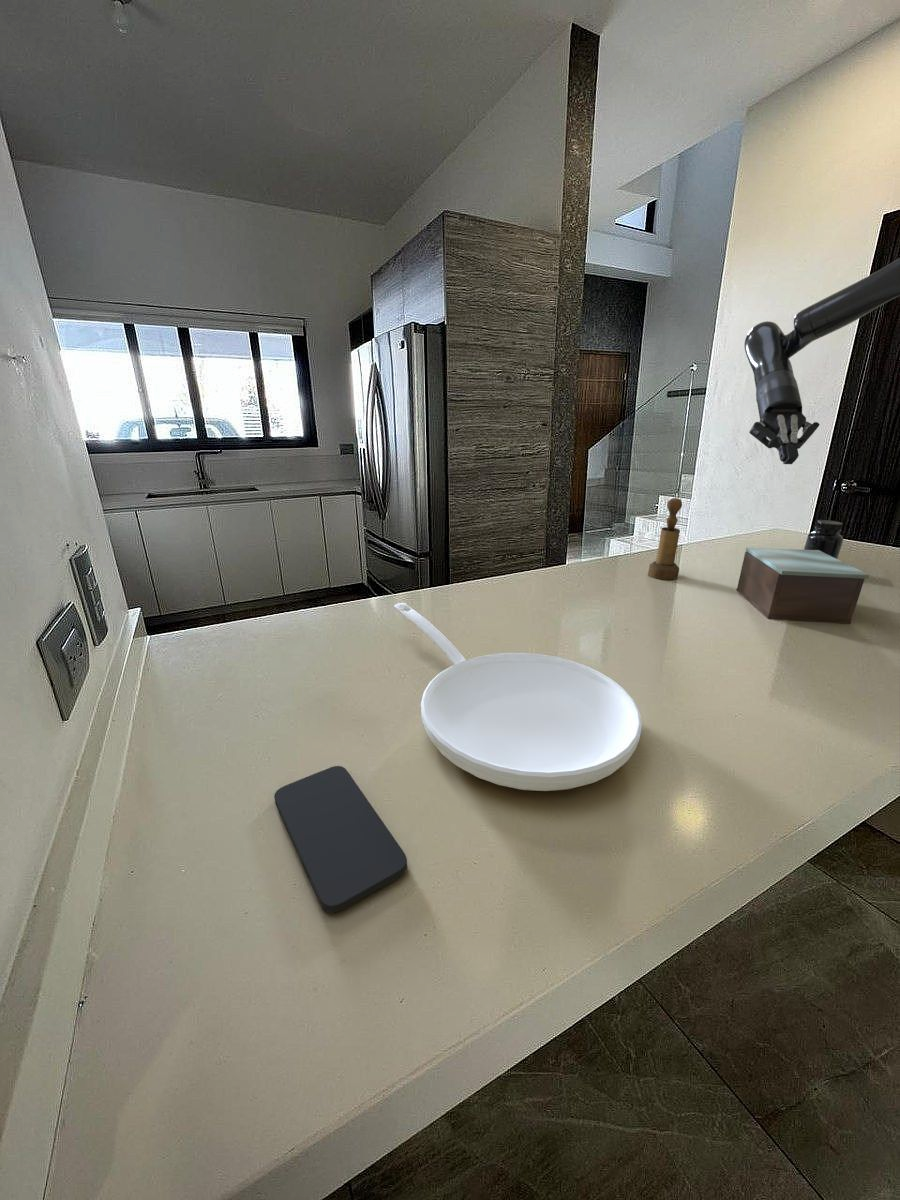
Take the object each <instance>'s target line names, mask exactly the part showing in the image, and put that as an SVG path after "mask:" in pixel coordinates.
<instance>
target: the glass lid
mask: <svg viewBox="0 0 900 1200" xmlns="http://www.w3.org/2000/svg"><path fill="white" fill-rule="evenodd" d="M745 551H747V552H748V553H750V554H751V555H753V556H754V557H756V558H757V559H759V560H760V561H762V562H763V563H765V564H766V565H768V566H769V567H771V568H772V569H774V570H775V571H777V572H778V573H780V574H781V575H801V576H822V577H843V578H864V580H867V579H869V577H870V575H869V574H868V573H866V572H864V571H862V570H861V569H858V568H856V567H854V566H852V565H850V564H848V563H845V562H844V561H841V560H840V559H838V558H837V559H836V558H834V557H832V556H829V555H827V554H825V553H823V552H821V551H819V550H804V549H798V548H797V549H794V548H773V547H771V548H769V547H745Z"/></svg>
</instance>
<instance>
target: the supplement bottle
mask: <svg viewBox="0 0 900 1200" xmlns="http://www.w3.org/2000/svg"><path fill="white" fill-rule="evenodd" d="M842 528H843V522H840V521H837V520H829V519H818V520H817V521H816V523H815V527H814V529H815V530H813V531H811V532H809V533H808V534H807V536H806V540H805V544H804V547H803V550H819V551H821V552H823V553H825V554H827V555H829V556H832V557H834V558H836V559H838V558H839V555H840V552H841V549H842V545H843V542H844V537H843V536H842V535H841V534H840V532H842Z"/></svg>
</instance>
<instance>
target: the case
mask: <svg viewBox="0 0 900 1200" xmlns="http://www.w3.org/2000/svg"><path fill="white" fill-rule="evenodd" d="M864 583H865V579H864V578H843V577H822V576H801V575H781V574H780V573H778V572H777V571H775V570H774V569H772V568H771V567H769V566H768V565H766V564H765V563H763V562H762V561H760V560H759V559H757V558H756V557H754V556H753V555H751V554H750V553H748V552H747V551H746V550H745V551H744V556H743V560H742V565H741V569H740V574H739V578H738V582H737V586H736V592H737V593H738V594H739V595H740V596H742V597H743V598H744V599H745V600H746V601H747V602H749V603H750V604H751V605H752V606H753V607H754V608H755V609H756V610H758V611H759V613H761V615H763V616H764V617H765V618H766V619H769V620H784V621H798V622H799V621H801V622H815V623H816V622H817V623H818V622H819V623H830V624H831V623H832V624H851V623H852V619H853V617H854V613H855V610H856V607H857V604H858V602H859V597H860V595H861V591H862V589H863V587H864V586H863V585H864Z"/></svg>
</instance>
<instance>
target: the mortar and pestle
mask: <svg viewBox="0 0 900 1200" xmlns="http://www.w3.org/2000/svg"><path fill="white" fill-rule="evenodd" d="M666 507H667V510H668V512H669V513H668V514H669V515H668V517H667V518H666V526H664V527H661V529H660V535H659V541H658V546H657V547H658V548H657V553H656V559H655V560H653V562H651V563H650V564H649V566H648V570H647V575H648V576H649V577H651V578H654V579H657V580H661V581H662V580H663V581H673V580H676V579H678V578H679V573H680V567H679V566H678V565H677V563H675V560H676V554H677V550H678V549H677V548H678V545H679V538H680V533H681V530H680V529H679V528H677V527H676V525H677V523H678V521H679V519H678V517H677V514H678V513H679V511H680V510H681V509H682V507H683V501H682V500H681V499H680V498H678V497H672V498H670V499H669V500H668V501H667V504H666Z"/></svg>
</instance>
